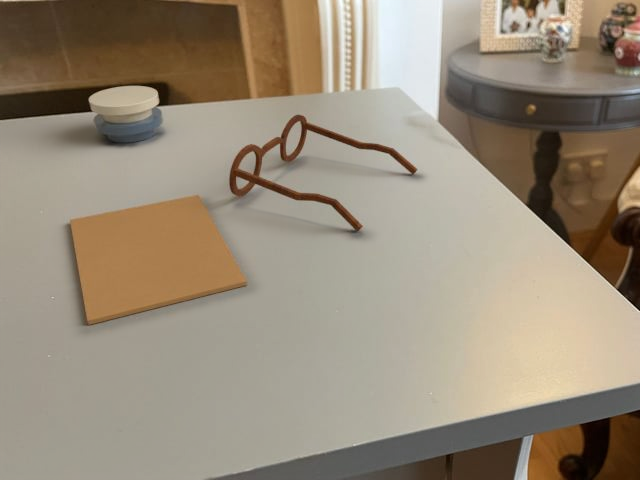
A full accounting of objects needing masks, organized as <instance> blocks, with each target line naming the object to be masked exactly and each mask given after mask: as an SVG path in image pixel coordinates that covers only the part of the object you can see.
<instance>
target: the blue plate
mask: <svg viewBox="0 0 640 480" xmlns="http://www.w3.org/2000/svg"><path fill="white" fill-rule="evenodd" d="M93 123H94V127H95V130H96V131H97V132H98V133H99V134H103V135H107V138H108V140H110V141H111V142H115V143H121V144H123V143H124V144H125V143H128V144H129V143H137V142H141V141H145V140H148V139H150V138H152V137H154V136H155V135H156V134H157V128H159V127H160V126H162V124H163V123H164V117H163V112H162V110H161V108H159V107H158V106H155V107H153V108H152V115H151V116H150V117H148V118H146V119H143V120H140V121H136V122H131V123H111V122H107V121H105V120H104V119H103V116H102V114H97V113H96V115H95V116H94V118H93Z"/></svg>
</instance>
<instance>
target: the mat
mask: <svg viewBox="0 0 640 480" xmlns="http://www.w3.org/2000/svg"><path fill="white" fill-rule="evenodd" d="M69 224H70V228H71V235H72V242H73V247H74V252H75V253H74V254H75V259H76V266H77V272H78V277H79V282H80V289H81V294H82V300H83V303H84V304H83V306H84V311H85V316H86V323H87V324H88V326H89V325H90V326H91V325H94V324H98V323H102V322H106V321H109V320H113V319H119V318H122V317H126V316H130V315H133V314H138V313H142V312H147V311H151V310H154V309H157V308H162V307H165V306H170V305H174V304H178V303H182V302H186V301H190V300H193V299H197V298H201V297H206V296H209V295H214V294H217V293H221V292H226V291H230V290H234V289H238V288H241V287H246V286H247V285H248V281H247V279H246V277H245V276H244V274H243V271H242V270H241V268H240V266H239V265H238V263H237V261H236V260H235V257H234V256H233V254H232V252H231V250H230V249H229V246H228V245H227V243H226V242H225V240H224V238H223V236H222V235H221V233H220V231H219V229H218V227H217V225H216V224H215V222H214V220H213V218H212V216H211V215H210V213H209V211H208V209H207V208H206V206H205V203H204V202H203V201H202V198H201V197H200V195H199V194H195V195H189V196H184V197H180V198H174V199H169V200H164V201H159V202H154V203H148V204H144V205H139V206H134V207H128V208H123V209H118V210H114V211H113V210H112V211H109V212H102V213H97V214H92V215H88V216H83V217H76V218H72V219H69Z"/></svg>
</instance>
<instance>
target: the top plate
mask: <svg viewBox="0 0 640 480" xmlns="http://www.w3.org/2000/svg"><path fill="white" fill-rule="evenodd" d="M159 97H160V96H159V92H158V90H157V89H156V88H153V87H149V86H146V85H145V86H143V85H123V86H116V87H111V88H107V89H102V90H100V91H99V90H98V91H97V92H95V93H93V94H92V95H90V96H89V97H88V104H89V108H90V110H91V111H92V112H93V113H95V114H96V115H97V114H102V116H103V119H104V120H105V121H107V122H111V123H131V122H136V121H140V120H143V119H146V118H148V117H150V116H151V115H152V108H153V107H158V105H159V104H160V98H159Z"/></svg>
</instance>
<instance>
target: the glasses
mask: <svg viewBox="0 0 640 480" xmlns="http://www.w3.org/2000/svg"><path fill="white" fill-rule="evenodd" d="M299 122H300V127H301V130H300V137H299V141H298V144H297V146H296V148H295V149H294V150H293V151H292V152H291V153H290V154H289V155H288V154H287V140H288V137H289V134H290V132H291V130H292V128H293V127H294V126H295V124H297V123H299ZM308 131H309V132H312V133H315V134H318V135H321V136H322V137H326V138H328V139H331V140H333V141H336V142H339V143H341V144H344V145H347V146H350V147H353V148H355V149H357V150H358V149H359V150H368V151H376V152H380V153H384V154H387V155H389V156H390V157H392V158H393V159H394V160H395V161H396V162H397V163H399V164H400V165H401V166H402V167H403V168H404V169H406V170H407V171H408V172H409V173H410V174H411V175H415V173H417V171H418V168H417V167H416V166H415V165H413V164H412V163H411V162H410V161H409V160H407V159H406V158H405V157H404V156H403V155H402V154H400V153H399V152H398V151H397V150H396V149H395V148H392V147H389V146H386V145H382V144H379V143H373V142H363V141H360V140H356V139H354V138H350V137H348V136H345V135H343V134H340V133H338V132H335V131H333V130H332V131H331V130H329V129H327V128H324V127H321V126H319V125H315V124H312V123H310V122H308V121H307V118H306V117H305V116H304V115H302V114H295V115H294V116H292V117H291V118H290V119H289V120H288V122H287V123H286V125H285V127H284V128H283V130H282V132H281V135H280V136H276V137H274V138H273V139H271V140H270V141H268V142H266V143H265V144H264V145H262V147H260V146H259V145H256V144H254V143H251V144H247V145H245V146H244V147H242V148H241V149H240V150H239V151H238V153H237V154H236V155H235V157H234V159H233V161H232V164H231V167H230V171H229V178H228V182H229V183H228V184H229V190H230V193H232V195H234V196H236V197H244V196H246V195H248V194H249V193H250V192H251V191H252V190H253V188H254V187H255V186H256V185H257V186H259V187H262V188H265V189H267V190H269V191H272V192H275V193H277V194H279V195H282V196H284V197H287V198H289V199H292V200H294V201H301V202H302V201H305V202H316V203H321V204H325V205H329V206H331V207H332V208H333V209H334V210H335V211H336V213H338V214H339V215H340V216H341V217H342V218H343V219H344V220H345V221H346V222H347V223H348V224H349V225H350V226H351V227H352V229H354V230H355V231H356V232H359V231H360V230H361V229H362V228H364V226H363V225H362V223H360V222H359V220H358V219H357V218H355V216H354V215H353V214H351V212H350V211H348V209H347V208H346V207H345V206H344V205H342V203H340V201H339V200H337V199H336V198H333V197H330V196H327V195H324V194H321V193H316V192H315V193H313V192H299V191H296V190H294V189H291V188H289V187H286V186H284V185H281V184H279V183H275V182H274V181H271V180H268V179H266V178H263V177H261V176H260V174H261V171H262V164H263V157H264V156H265V155H266V154H267V153H268V152H269V151H271V150H272V149H274V148H275V147H276V146H278V145H279V154H280V159H281V160H282V161H284V162H286V163H291V162H293V161H294V160H296V158H297V157H298V156H299V155H300V154H301V152H302V150H303V148H304V145H305V142H306V139H307V132H308ZM252 152H253V153H254V155H255V165H254V170H253V173H251V172H248V171H246V170H243V169H240V165H241V163H242V161H243V160H244V158H245V157H246V156H247V155H248V154H250V153H252ZM237 178H239V179H241V180H244V181H247V184H246V185H244V186H243V187H242V188H239V187H238V184H237Z"/></svg>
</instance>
